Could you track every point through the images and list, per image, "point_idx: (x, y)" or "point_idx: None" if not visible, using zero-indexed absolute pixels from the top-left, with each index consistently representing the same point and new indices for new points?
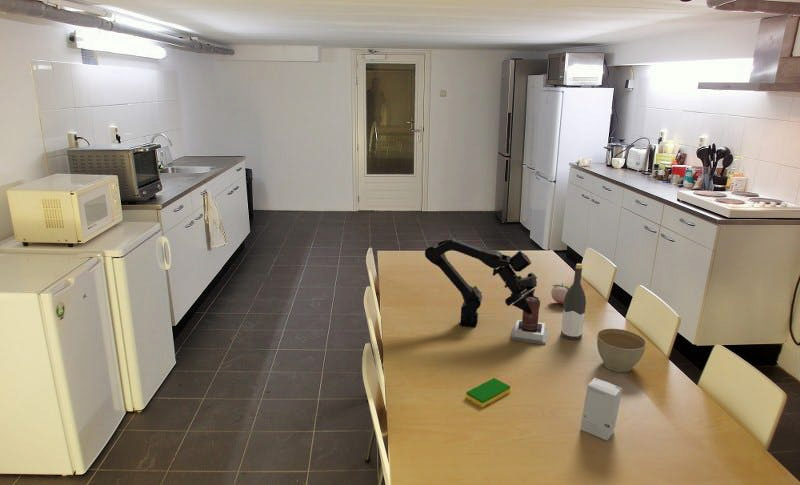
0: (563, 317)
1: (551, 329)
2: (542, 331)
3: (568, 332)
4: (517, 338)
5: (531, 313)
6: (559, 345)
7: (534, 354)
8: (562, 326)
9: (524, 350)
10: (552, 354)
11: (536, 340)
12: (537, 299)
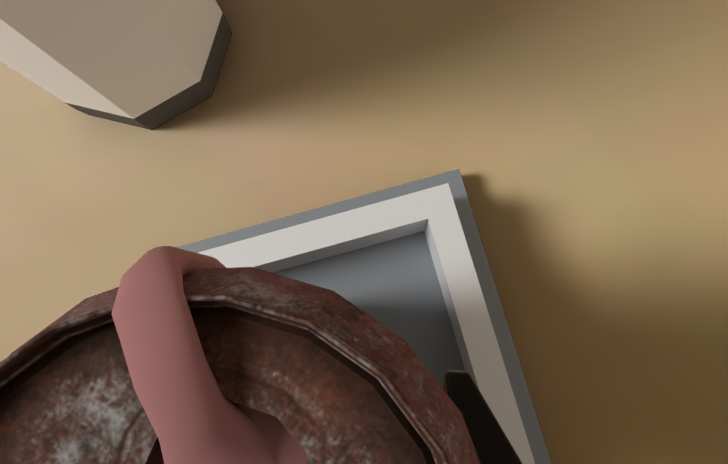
0: (62, 15)
1: (103, 232)
2: (364, 221)
3: (204, 13)
4: (544, 442)
5: (464, 377)
6: (390, 70)
7: (702, 191)
8: (132, 78)
9: (689, 298)
10: (595, 64)
11: (470, 254)
12: (158, 346)
